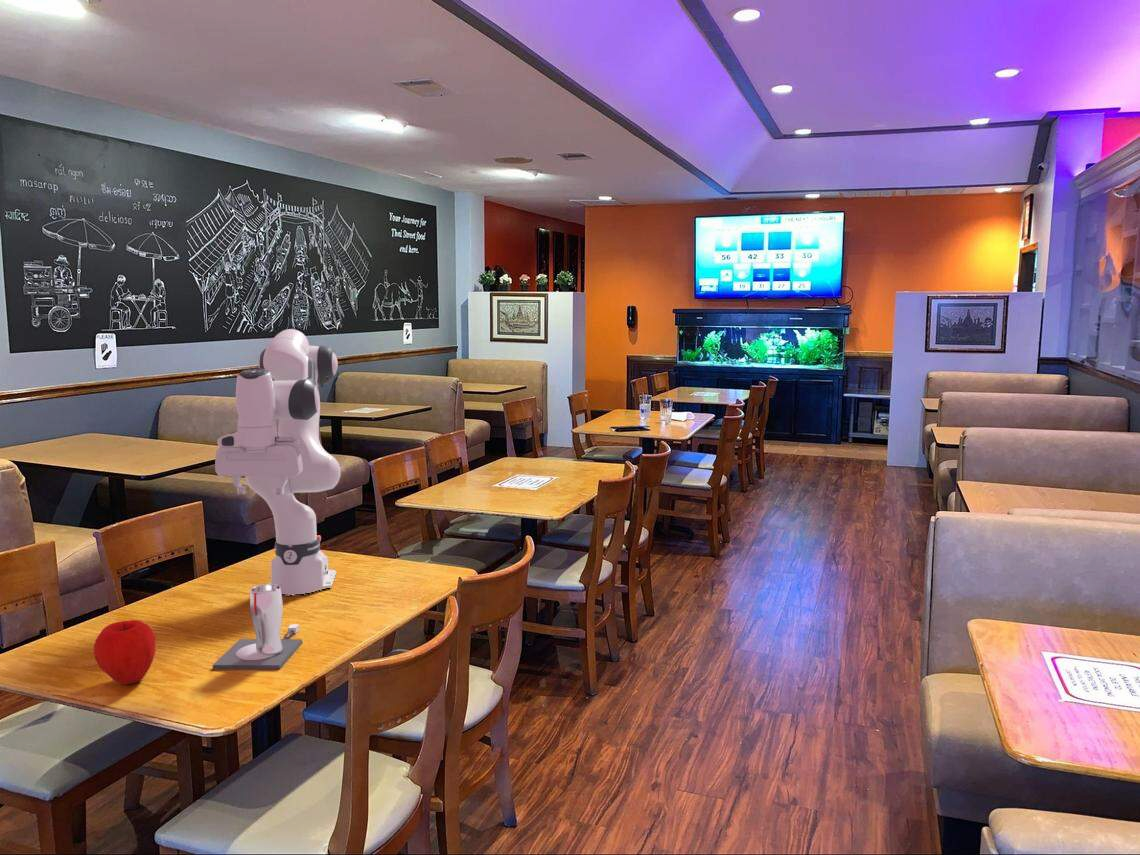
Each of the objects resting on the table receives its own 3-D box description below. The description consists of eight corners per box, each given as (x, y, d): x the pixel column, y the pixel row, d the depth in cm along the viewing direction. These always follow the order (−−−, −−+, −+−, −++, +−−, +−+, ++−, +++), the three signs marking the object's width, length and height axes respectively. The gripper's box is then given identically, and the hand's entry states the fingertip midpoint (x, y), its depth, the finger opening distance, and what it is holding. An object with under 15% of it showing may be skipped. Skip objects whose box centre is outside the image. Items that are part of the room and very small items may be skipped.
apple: (83, 691, 178) (78, 630, 176) (122, 668, 190) (118, 611, 188) (134, 696, 176) (129, 634, 174) (170, 672, 188) (166, 614, 186)
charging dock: (253, 630, 212) (253, 624, 212) (313, 630, 212) (313, 624, 211) (212, 669, 189) (212, 662, 189) (279, 669, 189) (279, 662, 188)
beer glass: (252, 658, 192) (248, 594, 189) (254, 647, 198) (250, 585, 196) (284, 655, 194) (281, 591, 191) (285, 643, 200) (282, 582, 198)
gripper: (305, 435, 206) (308, 491, 208) (221, 435, 207) (225, 491, 209) (296, 439, 200) (299, 496, 202) (210, 439, 200) (214, 496, 202)
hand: (261, 494), depth 205 cm, fingers open, 8 cm apart
